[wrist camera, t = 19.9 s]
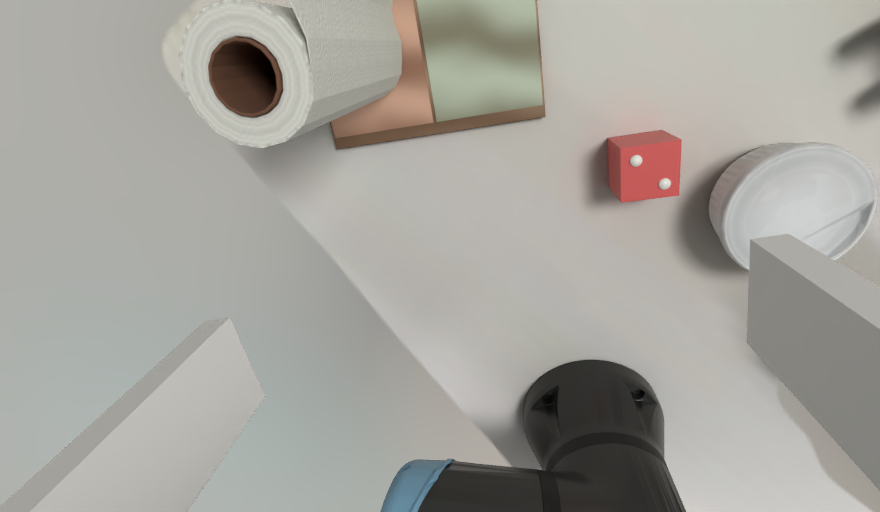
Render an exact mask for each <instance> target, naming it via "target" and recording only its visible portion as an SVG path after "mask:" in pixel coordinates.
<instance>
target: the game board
mask: <svg viewBox="0 0 880 512" xmlns="http://www.w3.org/2000/svg"><path fill="white" fill-rule="evenodd" d="M392 11H393V17H394V23H395V25H396V28H397V31H398V33H399V36H400V38H401V41H402V74H401V76H400V78H399V80H398V83H397V85H396V87H395V88H394V89H393V90H391V91H390V92H389V93H388V94H387V95H386V96H384V97H382V98H380V99H378V100H376V101H373V102H371V103H369V104H367V105H365V106H363V107H360V108H358V109H356V110H354V111H352V112H350V113H348V114H345V115H343V116H341V117H339V118H337V119H335V120H332V121H330V124H331V128H332V132H333V136H334V140H335V144H336V148H337V149H342V148H348V147H355V146H361V145H368V144H374V143H380V142H387V141H393V140H400V139H406V138H412V137H419V136H425V135H432V134H438V133H444V132H451V131H457V130H464V129H470V128H476V127H483V126H489V125H496V124H502V123H508V122H515V121H521V120H528V119H534V118H540V117H545V103H544V90H543V76H542V63H541V49H540V36H539V22H538V8H537V0H393V5H392Z"/></svg>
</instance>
